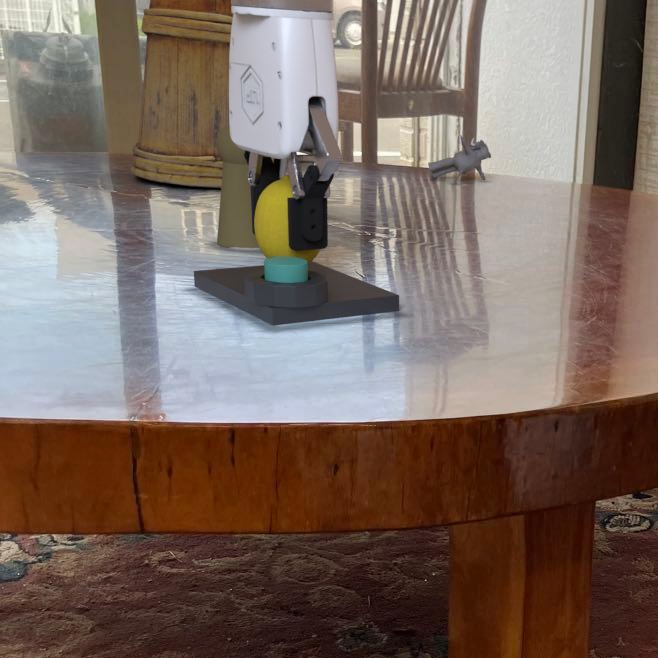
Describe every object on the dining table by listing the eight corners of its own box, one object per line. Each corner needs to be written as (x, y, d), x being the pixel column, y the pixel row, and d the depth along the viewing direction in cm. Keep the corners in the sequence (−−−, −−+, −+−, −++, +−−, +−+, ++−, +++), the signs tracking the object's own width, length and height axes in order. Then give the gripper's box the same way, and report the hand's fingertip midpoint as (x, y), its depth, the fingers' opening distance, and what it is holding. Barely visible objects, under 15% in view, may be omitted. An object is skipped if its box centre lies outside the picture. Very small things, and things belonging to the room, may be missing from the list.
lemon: (245, 278, 90) (240, 175, 87) (272, 265, 95) (269, 167, 92) (310, 285, 89) (308, 181, 86) (334, 272, 94) (333, 174, 91)
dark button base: (269, 329, 82) (267, 288, 80) (188, 288, 92) (185, 251, 90) (403, 314, 88) (403, 276, 87) (313, 277, 98) (313, 242, 97)
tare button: (277, 287, 82) (276, 266, 82) (257, 278, 84) (256, 258, 84) (315, 284, 84) (315, 263, 84) (295, 275, 86) (295, 255, 86)
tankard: (140, 168, 153) (123, -36, 142) (315, 175, 158) (311, -22, 147) (123, 187, 137) (103, -41, 126) (318, 194, 142) (314, -25, 131)
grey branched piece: (441, 175, 168) (497, 157, 166) (445, 208, 166) (502, 190, 164) (415, 134, 159) (474, 114, 157) (419, 168, 157) (479, 149, 155)
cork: (204, 244, 108) (197, 124, 104) (238, 235, 114) (233, 120, 109) (259, 251, 107) (254, 130, 102) (291, 242, 112) (288, 126, 107)
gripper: (187, -11, 87) (201, 226, 95) (291, -5, 75) (298, 265, 83) (275, -4, 91) (282, 222, 99) (386, 3, 80) (385, 258, 87)
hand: (289, 239), depth 91 cm, fingers closed on lemon, 5 cm apart
